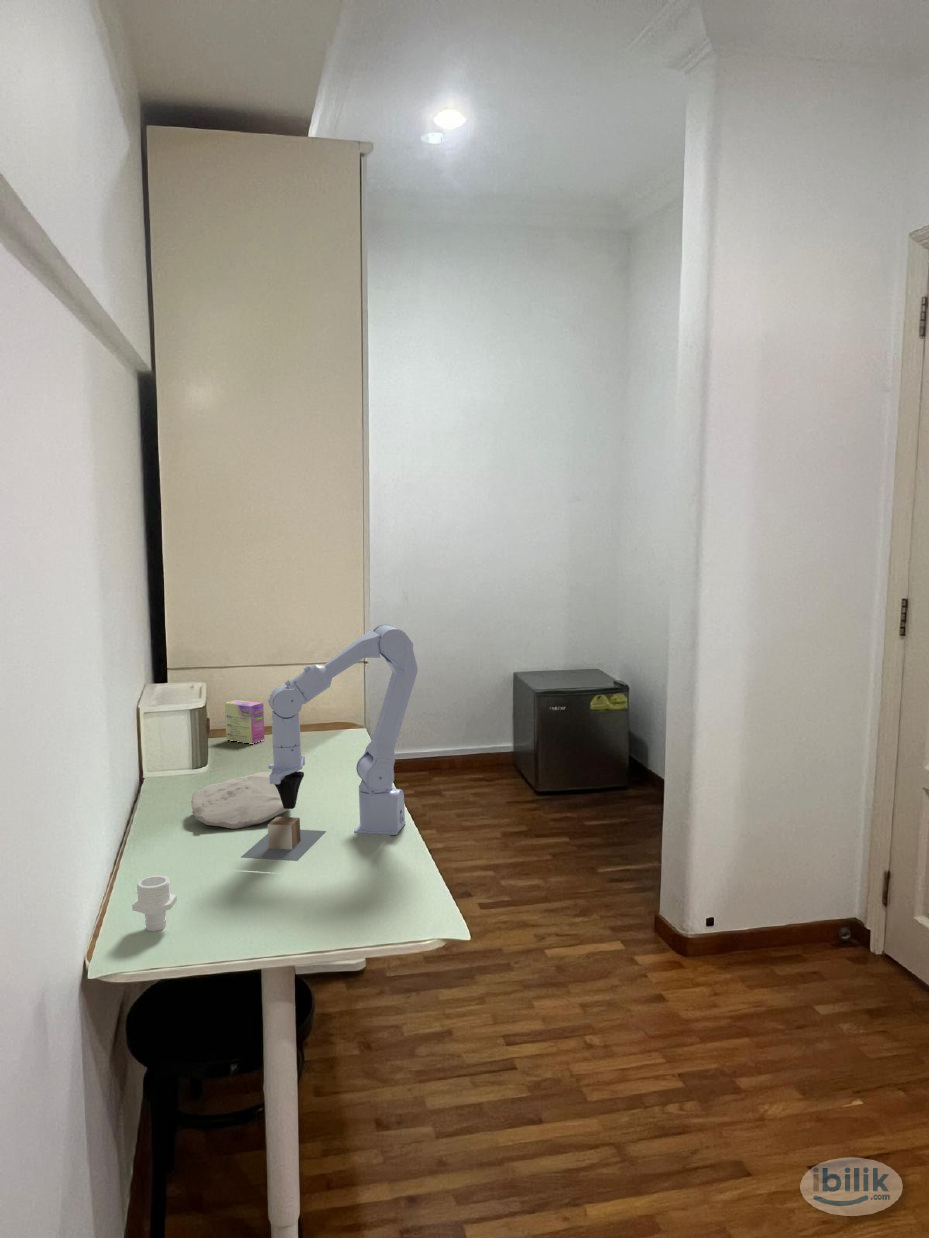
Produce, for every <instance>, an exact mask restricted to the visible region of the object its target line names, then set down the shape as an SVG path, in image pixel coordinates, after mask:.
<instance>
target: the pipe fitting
mask: <svg viewBox="0 0 929 1238" xmlns="http://www.w3.org/2000/svg"><path fill="white" fill-rule="evenodd" d="M136 890H137V892H136V894H137V898H136V899H135V900H134V901H133V902H132V904H131V908H132V911H134V912H137V913H141V914H144V918H145V922H144V923H145V927H146V928H145V929H146V930H147V931H149V932H157V931H158V932H159V931H162V930H163V929H165V928H166V927H167V917H166V913H167V911H169V910H172V908H173V907H174V905H175V904H176V902H177V901H178V899H177V894H174V893H171V880H170V878H169V877H168V876H166V875H151V876H147V877H144V878H142V879H140V880H139V881H137V882H136Z"/></svg>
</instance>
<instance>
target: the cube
mask: <svg viewBox="0 0 929 1238" xmlns="http://www.w3.org/2000/svg"><path fill="white" fill-rule="evenodd" d="M300 818H301V817H294V816H293V817H289V816H275V817H274V819H272V820H271V821H270V822H269V823H268V824H267V834H268V843H269V848H271V849H291V850H292V849H293V848H294V847H295V846H296V845H297V844H298V843H299V842H300V841H301V838H300V830H301V819H300Z"/></svg>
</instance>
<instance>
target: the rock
mask: <svg viewBox="0 0 929 1238" xmlns="http://www.w3.org/2000/svg"><path fill="white" fill-rule="evenodd" d="M271 773H272V772H270V771H258V772H255V773H253V774H249V775H244V776H240V777H239V776H238V777H234V778H229V779H227V780H226V781H224V782H219V783H209V784H207V785H206V786H205V787H203V788H200V789H199V790H197V791H194V792H193V794H192V799H191V805H190V806H191V808H192V811H191V813H192V814H193V816H194V817H195V819H196V820H198V821H200V822H201V823H203V824H205V825H207V826H211V827H212V826H213V827H221V828H226V829H234V830H235V829H236V830H237V829H242V828H246V827H250V826H253V825H260V824H263V823H265V822H267V821H270V820H271V819H273V818H276V817H278V816H279V815H280V814H282V813H285V812H287V811H288V810H290V809H284V807H283V804H282V801H281V798H280V795H279V792H278V790H277V788H276V786H275V785H274V784H270V776H269V775H270V774H271Z"/></svg>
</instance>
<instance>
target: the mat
mask: <svg viewBox="0 0 929 1238" xmlns="http://www.w3.org/2000/svg"><path fill="white" fill-rule="evenodd" d="M325 833H327V830H316V829H312V830H311V829H300V838H301V841H300V842H299V843H298V844H297V845H296V846H295V847H294V848H293V849H292V850H291V849H271V848H269V843H268V833H267V834H266V835H264V836H263V837H262V838H261V839H259V840H258V841H257V842H256V843H255V844H254V845H253V846H252V847H251V848H249V849H248V850H247V851H246V852H245V853H244V854H242V856H240V858H244V859H258V860H259V859H261V860H278V861H279V860H280V861H293V862H294V861H295V862H298V861H299V860H300V859H301V858H302V857H303V856H304V855H305V854H306V853H307V852H308V851H309V850H310V849H311V848H312V846H314V844H316V843H317V841H319V840H320V838H321V837H323V835H325Z"/></svg>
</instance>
